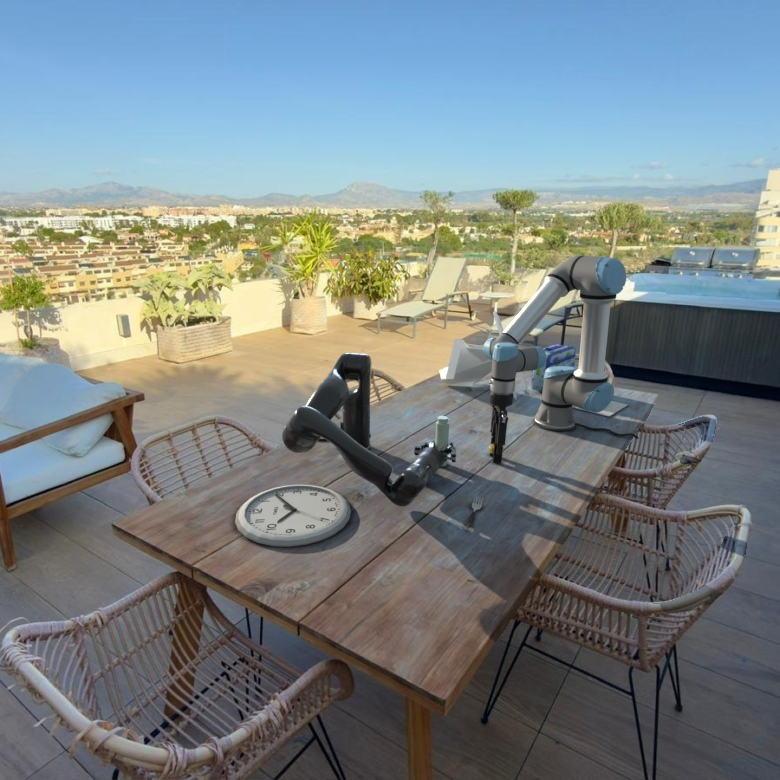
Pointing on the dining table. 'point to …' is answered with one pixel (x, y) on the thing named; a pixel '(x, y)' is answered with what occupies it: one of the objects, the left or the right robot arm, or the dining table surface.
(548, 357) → the lunch box
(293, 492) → the wall clock
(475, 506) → the fork
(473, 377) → the white plastic object
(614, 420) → the dining table surface
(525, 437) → the dining table surface
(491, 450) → the lid
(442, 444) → the jar
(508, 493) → the dining table surface
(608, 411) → the invitation card
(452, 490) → the dining table surface
